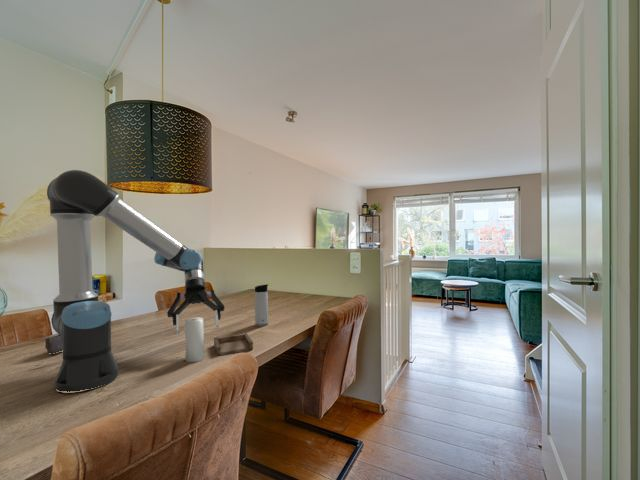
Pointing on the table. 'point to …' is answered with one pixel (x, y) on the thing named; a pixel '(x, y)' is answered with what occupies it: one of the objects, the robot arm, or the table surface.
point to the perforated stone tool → (54, 344)
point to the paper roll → (194, 339)
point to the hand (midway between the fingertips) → (198, 329)
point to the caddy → (232, 344)
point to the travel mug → (261, 305)
